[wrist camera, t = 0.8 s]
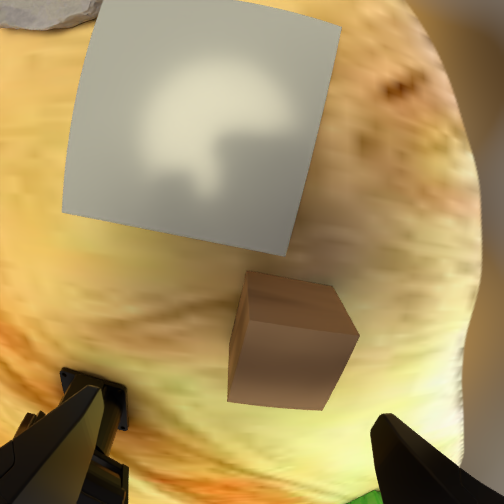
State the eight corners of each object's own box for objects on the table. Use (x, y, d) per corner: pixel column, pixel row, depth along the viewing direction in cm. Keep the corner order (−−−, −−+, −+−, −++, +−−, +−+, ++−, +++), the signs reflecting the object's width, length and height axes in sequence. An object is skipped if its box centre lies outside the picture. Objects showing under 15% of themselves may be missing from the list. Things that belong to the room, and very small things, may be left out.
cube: (306, 353, 24) (322, 410, 18) (229, 342, 23) (227, 401, 17) (332, 285, 22) (359, 335, 16) (246, 270, 21) (249, 319, 15)
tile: (278, 239, 20) (285, 256, 17) (83, 201, 19) (61, 212, 16) (327, 41, 16) (341, 27, 13) (122, 9, 14) (105, -7, 12)
